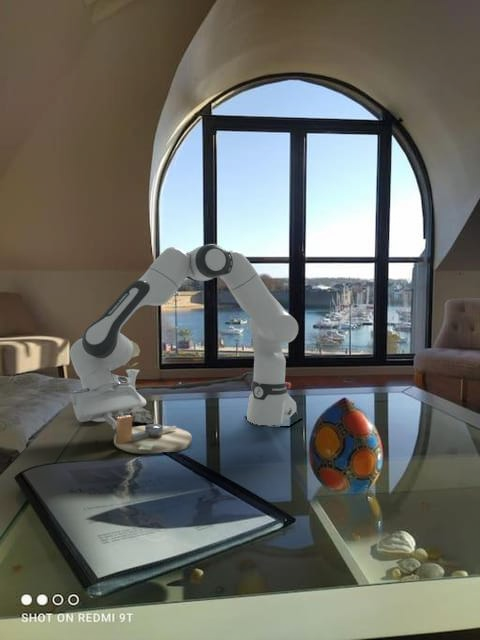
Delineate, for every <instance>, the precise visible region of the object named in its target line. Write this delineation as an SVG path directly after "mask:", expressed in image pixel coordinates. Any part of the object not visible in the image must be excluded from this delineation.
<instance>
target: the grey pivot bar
mask: <svg viewBox="0 0 480 640" xmlns="http://www.w3.org/2000/svg"><path fill="white" fill-rule="evenodd" d="M116 421H117V429H115V430H116V433H115V434H116V444H123V443H127V442H132V441H136V440H140V439H143V438H147V437H160V436H162V433H165V432H169V431H173V430H176V428H178V426H176V425H172V426H169V427H167V428H163V426H164V425H162V424H159V423H149V424H148V423H147V424H146V425H144V426H145V431H143V432H139V433H135V434H132V427H133V422H132V416H131V415H128V414H126V415H123V416H122V417H117V418H116Z"/></svg>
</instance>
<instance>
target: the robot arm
mask: <svg viewBox="0 0 480 640" xmlns="http://www.w3.org/2000/svg"><path fill="white" fill-rule="evenodd" d="M215 278H220V279H221V280H222V281H223V282H224V283H225V285H226V287H227V288H228V290H229V292H230V293H231V295H232V296H233V297H234V299H235V301H236V303H237V304H238V305H239V306H240V308H241V310H243V311H244V313H246V315H248V316H249V321H248V329H249V332H250V334H251V342H252V349H253V360H254V361H253V362H254V363H253V380H251V385H250V386H251V393H250V394H249V395H248V396H249V398H248V404H247V409H246V410H247V411H246V413H247V420H248V421H249V422H248V421H247V420H246V421H247V422H248V423H250V422H251V423H250V424H252V423H253V425H256V424H257V426H261V425H268V426H267V427H271V426H270V425H278V424H283V425H286V424H287V423H285V421H286V420H287V419H288V418H289V417H291V416H292V415H293V414H294V413H295V412H296V413H297V403H296V401H295V400H294V399H293V398H292V397H291V396H290V394H289V393H288V389H291V387H292V383H291V382H288V381H287V382H286V366H287V365H286V363H287V361H286V357H285V355H284V352H283V347H282V345H285V344H288V343H291V342H293V341H294V340H295V339H296V337H297V335H298V334H299V323H298V322H297V320H296V319H295V317H293V316H292V315H291V314H290V313H288V312H287V310H286V309H285V308H284V307H283V306H282V305H281V303H280V302H279V301H278V300H277V299H276V298H275V297H274V296H273V294H272V293H271V292H270V291H269V289H268V287H267V286H266V284H265V283H264V282H263V279H261V277H260V275H259V274H258V272H257V271H256V269H255V267H254V266H253V265H252V263H251V262H250V261H249V259H247V257H246V256H245V255H244V254H243V253H242V252H241V251H239V250H238V249H233V250H225V248H223V247H222V246H220V245H218V244H216V243H207V244H204V245H201V246H198V247H196V248H194V249H193V250H191V251H189V252H185V251H184V250H183V249H181V248H178V247H175V246H171V247H167V248H165V249H164V250H163V252H161V253H160V254H159V255H158V257H157V258H156V259H155V260H154V261H153V262H152V263H151V265H150V266H149V267H148V269H147V270H146V272H145V273H144V274H143V275H141V277H140V278H139V279H138V280H136V281H134V282H132V283H131V284H129V285H128V286H127V288H125V290H124V291H123V292H122V293H121V294H120V295H119V296H118V297H117V298H116V300H114V302H113V303H112V304H111V305H110V307H108V308H107V310H106V311H105V312H104V313H103V314H102V315H101V316H100V317H99V318H98V319H96V320H95V321H93V322H91V323H90V324H89V325H88V326H87V327H86V328H85V330H84V331H83V334H82V338H79V339H78V340H76V341H75V342H73V344H72V345H71V347H70V351H69V356H70V360H71V363H72V366H73V368H74V372H75V373H76V375H77V376H78V377H79V379H80V383H81V387H82V389H75V390H73V391H72V392H70V394H69V399H70V402H71V403H72V407H73V410H74V414H75V417H76V419H77V421H79V422H80V423H83V422H90V421H92V420H95V419H100V418H104V419H105V421H104V422H107V424H109V425H111V427H112V429H113V430H117V417H122V416H125V414H128V413H130V412H136V411H137V410H138V409H139V408H140V407H141V405H142V401H141V398H140V396H139V395H138V393H139V392H137V390H136V387H135V388H134V387H133V386H131V385H129V384H130V383H131V381H130V379H129V377H126V376H122V375H117V374H115V373H112V371H115V370H117V369H119V368H121V367H124V366H123V365H125V364H127V363H128V364H129V363H130V361H131V360H132V358H133V357H132V356H133V353H134V346H133V344H132V342H131V341H132V340H130V339H129V338H128V337H127V336H125V334H123V333H121V329H122V328H123V326H124V325H125V324H126V322H127V321H128V320H129V319H130V318H131V317H132V315H133V314H134V313H135V312H136V311H137V310H138V309H140V308H141V307H143V306H154V307H157V306H163V305H166V304H167V303H168V302H169V301H170V300H171V299H172V298H173V297H174V296H175V294H176V293H177V291H178V290H179V288H180V287H181V285H182V283H183V282H184V281H185V280H186V279H189V280H190V281H192V282H205V281H206V282H207V281H210V280H213V279H215ZM128 364H127V365H128ZM114 417H115V418H116V419H115V418H114Z"/></svg>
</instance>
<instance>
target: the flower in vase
mask: <svg viewBox="0 0 480 640" xmlns="http://www.w3.org/2000/svg"><path fill="white" fill-rule="evenodd" d="M130 341H131V342H132V344H133V346H134V353H133V356H132V358H136V357H138V356H140V352H141V348H140V347H139V344H138V343H137V342H134V340H130ZM139 363H140V361H138V362H136V363H133V364H132V365H131V366H130V364H129V362H128V363H127V364H125V365H123V366H122V367H126V366H128V368H129V369H126V370H125V372H126V374H127V376H128V378H129V379H130V381H131V383H130V384H129V385H131V386H133V387H134V388H135V389H136V379H137V375H138V373H139V372H140V369H132V367H134V366H137V365H138V364H139ZM137 393H138V395H139V396H140V398H141V401H142V405H141V406H142V407H143V408H144V406H146V405H147V400H146V398H144V397H143V396H142V395H141V394H140V393H139V392H137Z"/></svg>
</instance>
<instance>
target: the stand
mask: <svg viewBox="0 0 480 640" xmlns="http://www.w3.org/2000/svg"><path fill="white" fill-rule="evenodd" d="M145 426H146V425H138V426H132V434H135V433H139V432H143V431H145ZM162 426H163V428H167V427H170V426H169V425H162ZM192 440H193V438H192V434H191V432H189V431H187V430H184V429H182V428H179V427H177V428H176V430H173V431H169V432H165V433H162V436H160V437H147V438H143V439H140V440H136V441H132V442H127V443H123V444H116V433H115V434H114V436H113V444H114V446H115V447H116V448H117V449H120V450H122V451H124V452H128V453H132V454H139V455H149V454H148V453H155V452H173V453H177V452H181V451H184V450H185V449H188V448H189V447H190V446H191V445H192Z"/></svg>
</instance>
